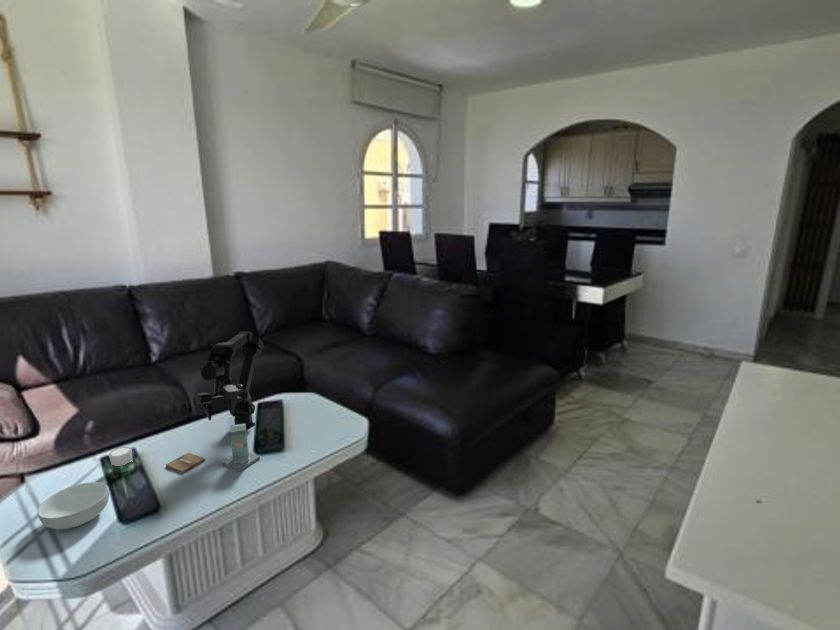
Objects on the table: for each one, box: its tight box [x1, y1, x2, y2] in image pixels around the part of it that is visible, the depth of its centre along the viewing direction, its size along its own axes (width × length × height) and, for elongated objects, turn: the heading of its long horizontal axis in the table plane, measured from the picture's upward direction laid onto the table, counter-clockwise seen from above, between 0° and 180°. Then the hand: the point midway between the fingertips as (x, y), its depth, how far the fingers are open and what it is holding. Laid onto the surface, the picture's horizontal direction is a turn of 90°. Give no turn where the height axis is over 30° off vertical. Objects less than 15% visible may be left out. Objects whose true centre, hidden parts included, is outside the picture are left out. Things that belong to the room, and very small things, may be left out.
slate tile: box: [222, 452, 261, 472], centre depth 167 cm, size 9×9×1 cm
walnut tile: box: [165, 452, 206, 474], centre depth 165 cm, size 9×9×1 cm
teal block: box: [229, 424, 250, 464], centre depth 165 cm, size 5×5×12 cm
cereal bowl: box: [37, 481, 110, 530], centre depth 136 cm, size 17×17×7 cm
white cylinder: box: [108, 446, 133, 466], centre depth 162 cm, size 7×7×7 cm
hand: (221, 418), depth 174 cm, fingers open, 9 cm apart
